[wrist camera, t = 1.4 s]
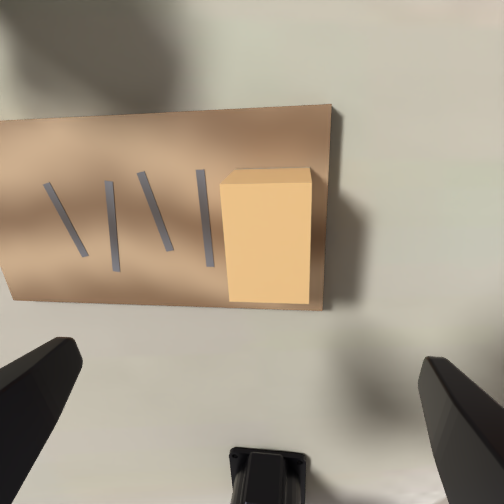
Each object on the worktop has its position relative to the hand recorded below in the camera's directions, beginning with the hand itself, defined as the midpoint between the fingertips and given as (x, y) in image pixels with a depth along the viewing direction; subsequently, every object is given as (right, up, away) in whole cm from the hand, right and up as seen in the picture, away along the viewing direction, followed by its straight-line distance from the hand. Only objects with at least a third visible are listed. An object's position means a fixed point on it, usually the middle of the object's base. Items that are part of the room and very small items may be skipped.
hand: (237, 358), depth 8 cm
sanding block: (+2, +5, +11) cm, 12 cm away
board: (-6, +5, +13) cm, 15 cm away
